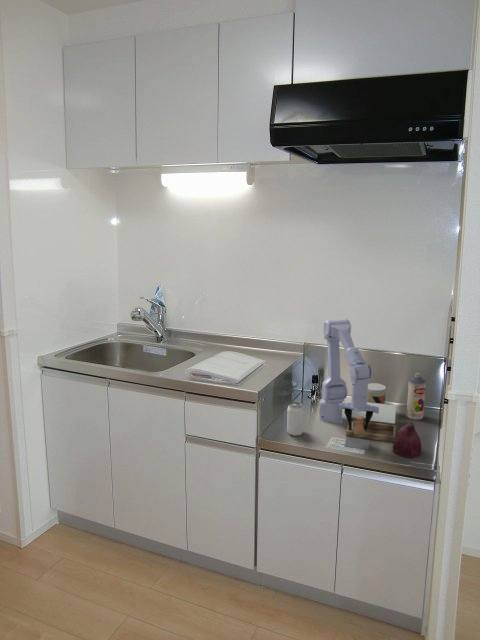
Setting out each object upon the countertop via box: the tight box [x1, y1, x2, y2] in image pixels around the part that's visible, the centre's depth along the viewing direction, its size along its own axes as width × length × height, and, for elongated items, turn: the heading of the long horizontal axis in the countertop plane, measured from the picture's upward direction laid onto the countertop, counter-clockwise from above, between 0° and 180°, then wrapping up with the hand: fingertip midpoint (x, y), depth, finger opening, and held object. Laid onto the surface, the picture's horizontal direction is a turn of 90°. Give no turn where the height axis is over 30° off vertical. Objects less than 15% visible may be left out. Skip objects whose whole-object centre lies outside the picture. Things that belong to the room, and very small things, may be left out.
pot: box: [352, 416, 366, 435], centre depth 190 cm, size 5×5×6 cm
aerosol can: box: [406, 372, 427, 421], centre depth 212 cm, size 7×7×20 cm
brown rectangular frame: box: [345, 421, 397, 443], centre depth 203 cm, size 19×20×5 cm
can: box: [286, 401, 305, 437], centre depth 200 cm, size 6×6×12 cm
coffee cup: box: [367, 382, 387, 404], centre depth 219 cm, size 9×9×12 cm
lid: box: [352, 402, 397, 425], centre depth 208 cm, size 18×10×1 cm, turn 71°
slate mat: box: [344, 436, 371, 451], centre depth 191 cm, size 9×8×1 cm
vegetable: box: [392, 421, 422, 459], centre depth 182 cm, size 10×10×15 cm
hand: (358, 428), depth 190 cm, fingers closed on pot, 5 cm apart
